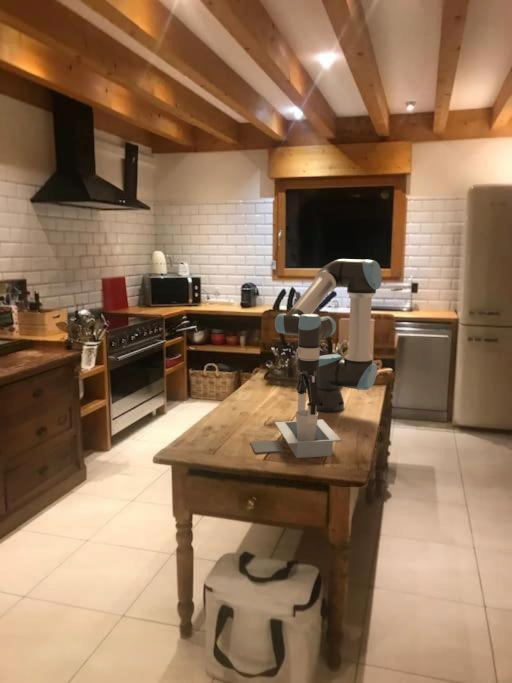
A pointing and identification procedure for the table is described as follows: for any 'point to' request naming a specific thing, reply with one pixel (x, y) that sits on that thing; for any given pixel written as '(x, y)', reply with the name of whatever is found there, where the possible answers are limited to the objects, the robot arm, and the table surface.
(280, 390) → the table surface
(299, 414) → the cup
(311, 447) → the rectangular frame
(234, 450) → the table surface
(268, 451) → the pad
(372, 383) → the robot arm
